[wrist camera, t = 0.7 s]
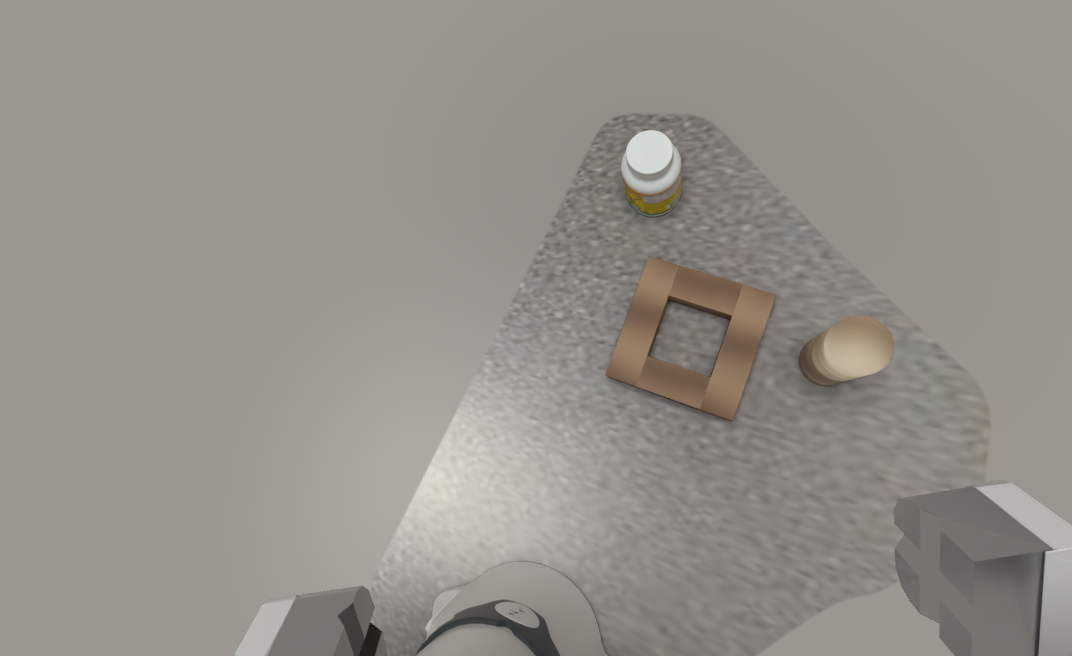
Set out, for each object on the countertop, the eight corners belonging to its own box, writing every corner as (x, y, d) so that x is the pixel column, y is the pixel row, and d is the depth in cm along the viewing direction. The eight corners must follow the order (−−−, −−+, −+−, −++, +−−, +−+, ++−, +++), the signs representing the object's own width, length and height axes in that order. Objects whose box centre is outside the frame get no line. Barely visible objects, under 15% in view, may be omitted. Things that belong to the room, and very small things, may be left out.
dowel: (842, 392, 57) (883, 383, 46) (792, 376, 58) (820, 363, 47) (857, 346, 58) (901, 326, 46) (807, 331, 59) (838, 307, 47)
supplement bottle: (685, 212, 63) (686, 175, 54) (631, 222, 64) (622, 187, 55) (676, 161, 64) (676, 116, 55) (623, 172, 65) (613, 129, 56)
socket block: (730, 421, 59) (732, 420, 57) (608, 377, 62) (605, 375, 60) (772, 300, 60) (776, 294, 57) (649, 262, 63) (648, 256, 60)
